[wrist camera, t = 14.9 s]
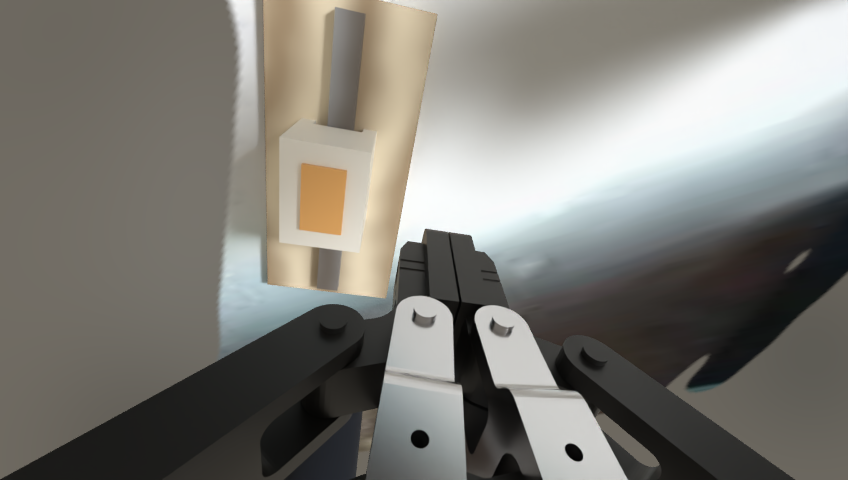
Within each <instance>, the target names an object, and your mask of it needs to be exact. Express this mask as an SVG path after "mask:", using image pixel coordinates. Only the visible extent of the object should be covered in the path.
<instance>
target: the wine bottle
mask: <svg viewBox="0 0 848 480" xmlns="http://www.w3.org/2000/svg"><path fill="white" fill-rule="evenodd" d="M361 420H362V412H357V413H353V414H352V416H351V418H350V419H349V420H348V421H347V423H346V424H344V425H343V426H342V427H341V428H340V429H339V430H338V431H337V432H336V433H335V434H333V435H332V436H331V437H330V438H329V439H328V440H327V441H326V442H325V443H324V444H322V445H321V446H320V447H319V448H318V449H317V450H316V451H315V452H314V453H313V454H311V455H310V456H309V457H308V458H307V459H306V460H305V461H304V462H303V463H302V464H300V465H299V466H298V467H297V468H296V469H295V470H294V471H293V472H292V473H291V474H289V475H288V476H287V477H286V478H285V479H284V480H349V479H352V478H355V477H356V469H357V458H358V449H359V440H360V430H361Z"/></svg>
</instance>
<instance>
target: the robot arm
mask: <svg viewBox="0 0 848 480" xmlns="http://www.w3.org/2000/svg"><path fill="white" fill-rule="evenodd" d="M454 375H455V377H454ZM375 408H378V411H377V416H376V422H375V427H374V433H373V438H372V444H371V449H370V455H369V460H368V466H367V471H366V474H363V475H360V476H358V477H355V478H352V479H349V480H795V479H793V478H792V477H790V476H789V475H788V474H786V473H785V472H783V471H782V470H780V469H779V468H778V467H776V466H775V465H773V464H772V463H771V462H769V461H768V460H767V459H765V458H764V457H762V456H761V455H760V454H758V453H757V452H755V451H754V450H753V449H751V448H750V447H748V446H747V445H745V444H744V443H743V442H741V441H740V440H738V439H737V438H736V437H734V436H733V435H731V434H730V433H728V432H727V431H726V430H724V429H723V428H721V427H720V426H719V425H717V424H716V423H714V422H713V421H712V420H710V419H709V418H707V417H706V416H704V415H703V414H702V413H700V412H699V411H697V410H696V409H695V408H693V407H692V406H690V405H689V404H688V403H686V402H685V401H683V400H682V399H681V398H679V397H678V396H676V395H675V394H674V393H672V392H671V391H669V390H668V389H667V388H665V387H664V386H662V385H661V384H659V383H658V382H657V381H655V380H654V379H652V378H651V377H650V376H648V375H647V374H645V373H644V372H643V371H641V370H640V369H638V368H637V367H635V366H634V365H633V364H631V363H630V362H628V361H627V360H626V359H624V358H623V357H621V356H620V355H619V354H617V353H616V352H614V351H613V350H612V349H610V348H609V347H607V346H606V345H604V344H603V343H601V342H599V341H597V340H595V339H593V338H590V337H587V336H581V335H574V336H570V337H568V338H567V339H566V340H565V342H564V344H563V346H562V347H561V346H559V345H556V344H553V343H550V342H548V341H545V340H542V339H540V338H537V337H535V336H533V335H532V333H531V331H530V329H529V327H528V325H527V323H526V322H525V320H524V319H523V318H522V317H521V316H519V315H518V314H517V313H515V312H514V311H512V310H510V308H509V305H508V303H507V300H506V297H505V294H504V291H503V288H502V285H501V283H500V279H499V276H498V274H497V270H496V267H495V264H494V262H493V261H492V260H491V259H490V258H489V257H488V256H487V254H486V253H485V252H479V251H475V248H474V244H473V240H472V237H471V236H470V235H464V234H458V233H451V232H444V231H437V230H431V229H425V231H424V234H423V239H422V243H417V242H410V241H408V242H407V243H406V244H405V245H404V246H403V247H402V248H401V250H400V256H399V262H398V268H397V273H396V279H395V285H394V295H393V308H392V311H391V312H389V313H388V314H386V315H384V316H382V317H378V318H374V319H366V320H364V319H363V317H362V316H361V315H360V314H359V313H358V312H357V311H356V310H354V309H352V308H350V307H347V306H344V305H338V304H328V305H322V306H319V307H316V308H314V309H312V310H310V311H308V312H306V313H305V314H303V315H301V316H299V317H297V318H295V319H294V320H292V321H290V322H288V323H286V324H284V325H283V326H281V327H279V328H277V329H275V330H273V331H272V332H270V333H268V334H266V335H264V336H262V337H261V338H259V339H257V340H255V341H253V342H251V343H250V344H248V345H246V346H244V347H242V348H240V349H239V350H237V351H235V352H233V353H231V354H229V355H228V356H226V357H224V358H222V359H220V360H218V361H217V362H215V363H213V364H211V365H209V366H207V367H206V368H204V369H202V370H200V371H198V372H197V373H195V374H193V375H191V376H189V377H187V378H185V379H184V380H182V381H180V382H178V383H176V384H174V385H173V386H171V387H169V388H167V389H165V390H164V391H162V392H160V393H158V394H156V395H154V396H153V397H151V398H149V399H147V400H145V401H143V402H141V403H140V404H138V405H136V406H134V407H132V408H130V409H129V410H127V411H125V412H123V413H122V414H119V415H118V416H116V417H114V418H112V419H110V420H108V421H107V422H105V423H103V424H101V425H99V426H98V427H96V428H94V429H92V430H90V431H88V432H87V433H85V434H83V435H81V436H79V437H77V438H76V439H74V440H72V441H70V442H68V443H66V444H65V445H63V446H61V447H59V448H57V449H55V450H53V451H52V452H50V453H48V454H46V455H44V456H43V457H41V458H39V459H37V460H35V461H33V462H31V463H30V464H28V465H26V466H24V467H22V468H21V469H19V470H17V471H15V472H13V473H11V474H10V475H8V476H6V477H4V478H2V479H0V480H284V479H285V478H286V477H287V476H288V475H289V474H291V473H292V472H293V471H294V470H295V469H296V468H297V467H298V466H299V465H300V464H302V463H303V462H304V461H305V460H306V459H307V458H308V457H309V456H310V455H311V454H313V453H314V452H315V451H316V450H317V449H318V448H319V447H320V446H321V445H322V444H324V443H325V442H326V441H327V440H328V439H329V438H330V437H331V436H332V435H333V434H335V433H336V432H337V431H338V430H339V429H340V428H341V427H342V426H343V425H344V424H346V423H347V421H348V420H349V419H350V418H351V416H352V414H353V413H357V412H362V411H366V410H370V409H375ZM600 410H601V411H602V412H603V413H605V414H606V415H607V416H608V417H609V418H611V419H612V420H613V421H614V422H615V423H617V424H618V425H619V426H620V427H621V428H622V429H624V430H625V431H626V432H627V433H628V434H630V435H631V436H632V437H633V438H635V439H636V440H637V441H638V442H639V443H641V444H642V445H643V446H644V447H645V448H647V449H648V450H649V451H650V452H651V453H652V454H653V455H654V456H655V457H656V459H657V460H658V462H659V464H660V465H659V466H657V467H648V466H645V465H643V464H641V463H640V462H638V461H637V460H636V459H635V458H634V457H633V456H632V455H630V454H629V453H628V452H627V451H626V450H624V449H623V448H622V447H621V446H620V445H619V444H618V443H616V442H615V441H614V440H613V439H612V438H611V437H610V436H608V435H607V434H606V433H605V432H604V431H603V430H602V429H600V427H599V425H598V423H597V421H596V420H595V417H596V416H597V414H598V413H599V411H600Z"/></svg>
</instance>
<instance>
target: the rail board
mask: <svg viewBox="0 0 848 480" xmlns="http://www.w3.org/2000/svg"><path fill="white" fill-rule="evenodd" d="M263 18H264V83H265V147H266V212H267V276H268V284H269V285H278V286H286V287H295V288H303V289H311V290H320V291H328V292H337V293H345V294H354V295H362V296H371V297H379V298H386V295H387V290H388V284H389V279H390V273H391V268H392V262H393V256H394V251H395V245H396V240H397V234H398V229H399V223H400V218H401V212H402V207H403V201H404V196H405V190H406V185H407V179H408V174H409V168H410V163H411V157H412V152H413V146H414V141H415V135H416V130H417V124H418V119H419V113H420V108H421V102H422V97H423V91H424V86H425V80H426V75H427V69H428V64H429V58H430V53H431V47H432V42H433V36H434V31H435V25H436V20H437V14H435V13H431V12H426V11H422V10H418V9H414V8H409V7H405V6H401V5H397V4H392V3H388V2H384V1H380V0H263ZM301 118H305V119H311V120H316V124H318V125H323V126H329V127H335V128H340V129H346V130H351V131H357V132H363V129H366V130H372V131H377V136H376V144H375V151H374V159H373V167H372V175H371V183H370V191H369V198H368V206H367V214H366V221H365V226H364V231H363V236H362V242H361V247H360V252H359V253H355V252H348V251H340V250H333V249H325V248H318V247H310V246H303V245H295V244H288V243H280V242H279V137H280V136H281V135H282V134H283V133H285V132H286V131H287V130H288V129H289V128H291V127H292V126H293V125H294V124H295V123H297V122H298V121H299V120H300V119H301Z"/></svg>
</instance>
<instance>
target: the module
mask: <svg viewBox="0 0 848 480" xmlns="http://www.w3.org/2000/svg"><path fill="white" fill-rule="evenodd" d="M376 136H377V131H372V130H366V129H363V132H357V131H351V130H346V129H340V128H335V127H329V126H323V125H318V124H316V120H311V119H305V118H301V119H300V120H299V121H298V122H297V123H295V124H294V125H293V126H292V127H291V128H289V129H288V130H287V131H286V132H285V133H283V134H282V135H281V136H280V137H279V242H280V243H288V244H295V245H303V246H310V247H318V248H325V249H333V250H340V251H348V252H355V253H359V252H360V247H361V242H362V236H363V231H364V226H365V221H366V214H367V206H368V198H369V191H370V183H371V175H372V167H373V159H374V151H375V144H376Z"/></svg>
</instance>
